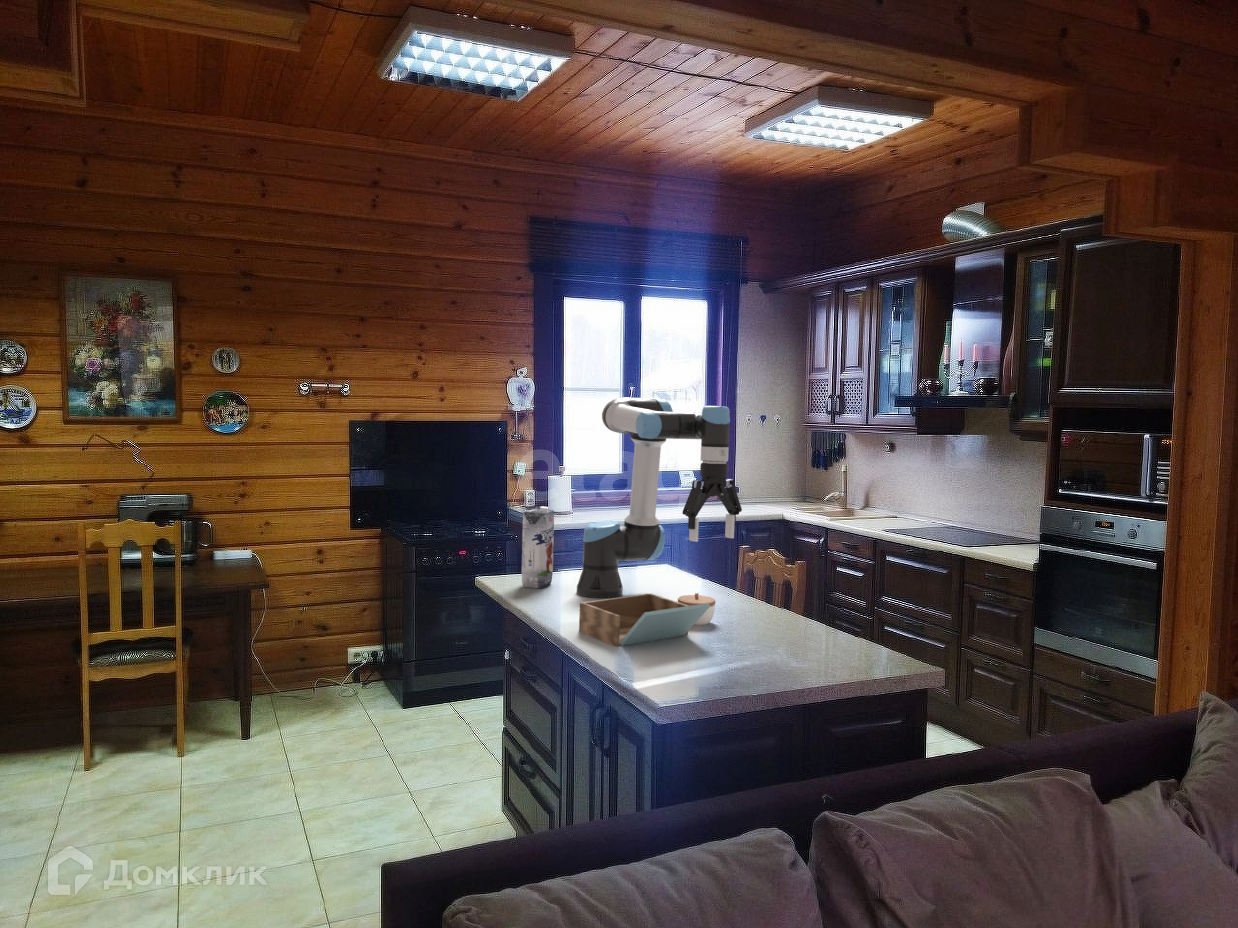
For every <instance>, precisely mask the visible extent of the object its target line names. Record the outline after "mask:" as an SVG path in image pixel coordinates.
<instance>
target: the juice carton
mask: <svg viewBox="0 0 1238 928" xmlns="http://www.w3.org/2000/svg"><path fill="white" fill-rule="evenodd" d="M522 513H523V514H522V535H521V536H522V538H521V584H522V587H524V588H533V589H544V588H545V587H547V586H549V585H550V584H551V583H552V581H553V580H552V579H553V573H554V572H553V571H554V542H555V541H554V540H555V539H554V538H555V537H554V536H555V534H554V533H555V516H554V515H555V510H554V509H549V507H548V506H539V508H532V509H530V510H524V511H523V512H522Z"/></svg>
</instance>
